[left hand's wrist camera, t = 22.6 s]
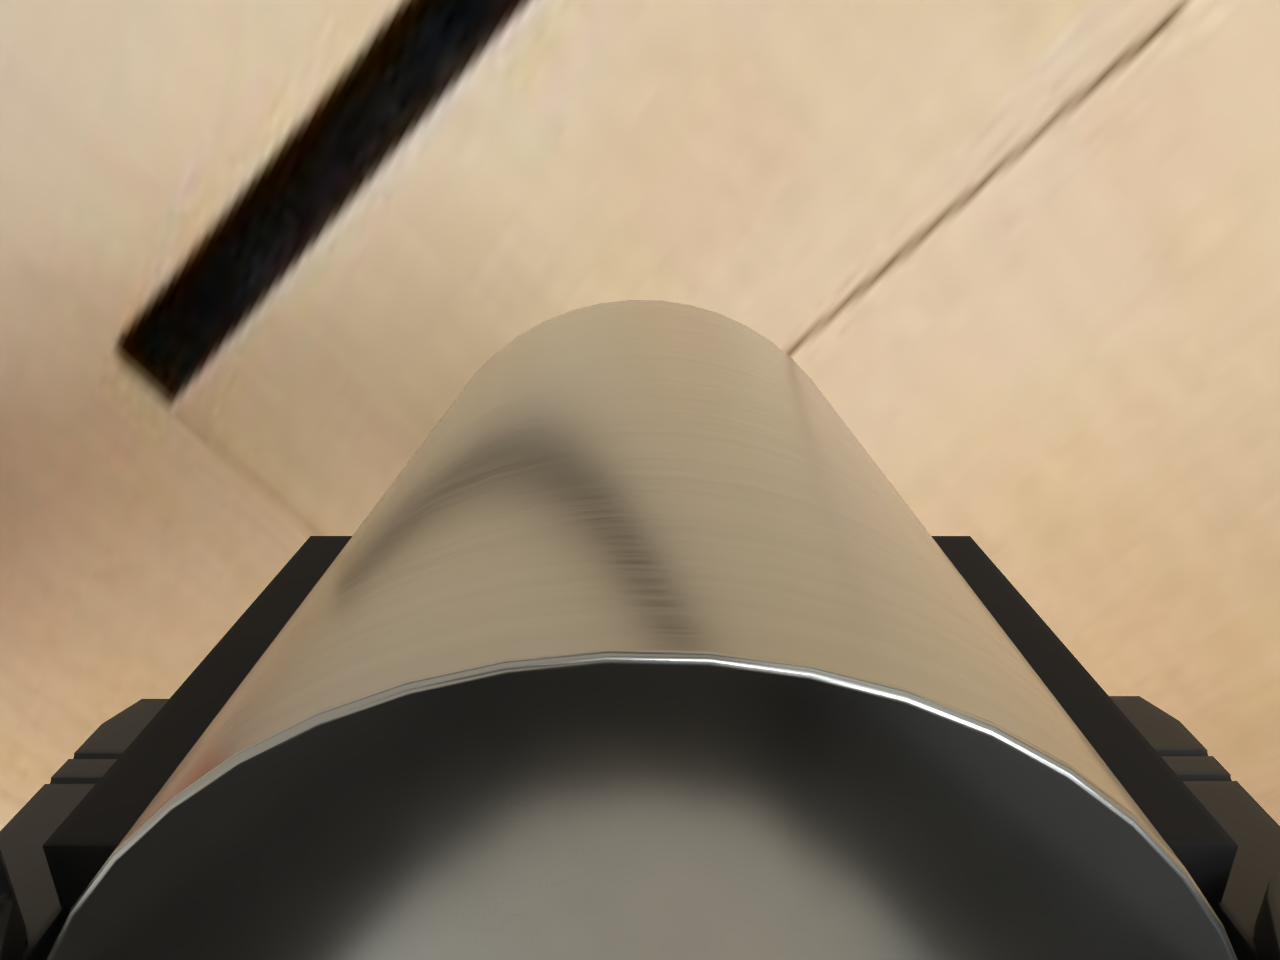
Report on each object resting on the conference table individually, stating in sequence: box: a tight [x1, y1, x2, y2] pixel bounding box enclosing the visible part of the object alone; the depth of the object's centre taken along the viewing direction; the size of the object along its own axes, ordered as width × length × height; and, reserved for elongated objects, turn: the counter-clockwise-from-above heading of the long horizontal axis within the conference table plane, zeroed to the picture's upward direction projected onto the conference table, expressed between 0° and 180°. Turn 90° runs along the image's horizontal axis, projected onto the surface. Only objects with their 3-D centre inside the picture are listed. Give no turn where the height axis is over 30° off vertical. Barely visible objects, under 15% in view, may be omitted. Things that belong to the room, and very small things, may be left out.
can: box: [47, 300, 1237, 960], centre depth 12 cm, size 9×9×13 cm
